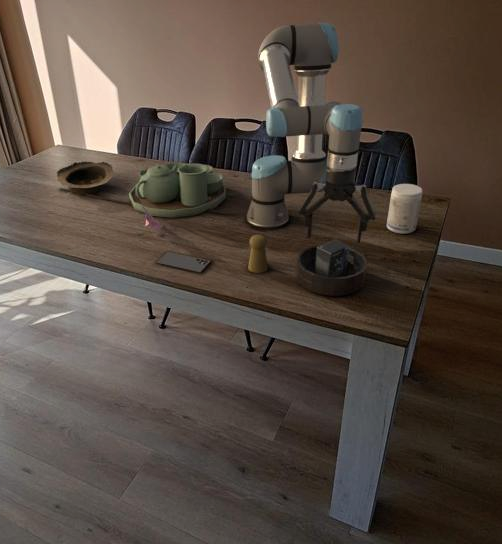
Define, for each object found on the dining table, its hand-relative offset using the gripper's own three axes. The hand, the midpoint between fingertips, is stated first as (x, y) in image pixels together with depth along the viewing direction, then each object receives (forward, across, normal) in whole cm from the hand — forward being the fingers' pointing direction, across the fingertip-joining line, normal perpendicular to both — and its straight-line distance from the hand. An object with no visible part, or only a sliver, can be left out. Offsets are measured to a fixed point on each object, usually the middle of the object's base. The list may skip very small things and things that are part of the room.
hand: (333, 238), depth 142 cm
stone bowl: (+15, -108, +53) cm, 121 cm away
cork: (+14, -22, +2) cm, 26 cm away
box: (+13, 0, 0) cm, 13 cm away
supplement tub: (+14, +21, +38) cm, 45 cm away
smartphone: (+14, -46, 0) cm, 48 cm away
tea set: (+15, -65, +50) cm, 83 cm away
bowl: (+14, 0, 0) cm, 14 cm away
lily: (+14, -64, +18) cm, 68 cm away
